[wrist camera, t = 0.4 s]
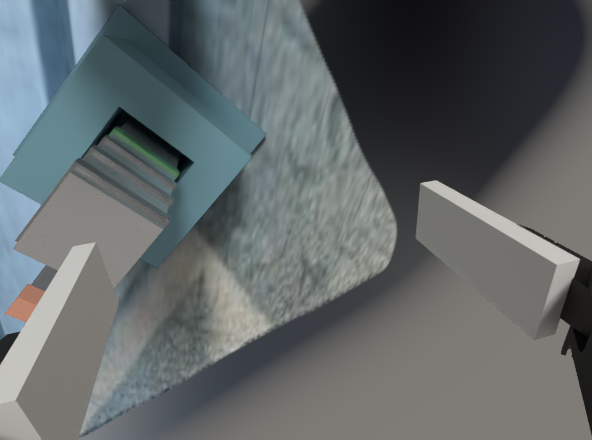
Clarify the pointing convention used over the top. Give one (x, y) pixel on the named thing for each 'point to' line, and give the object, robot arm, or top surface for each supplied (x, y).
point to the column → (108, 202)
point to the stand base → (149, 111)
